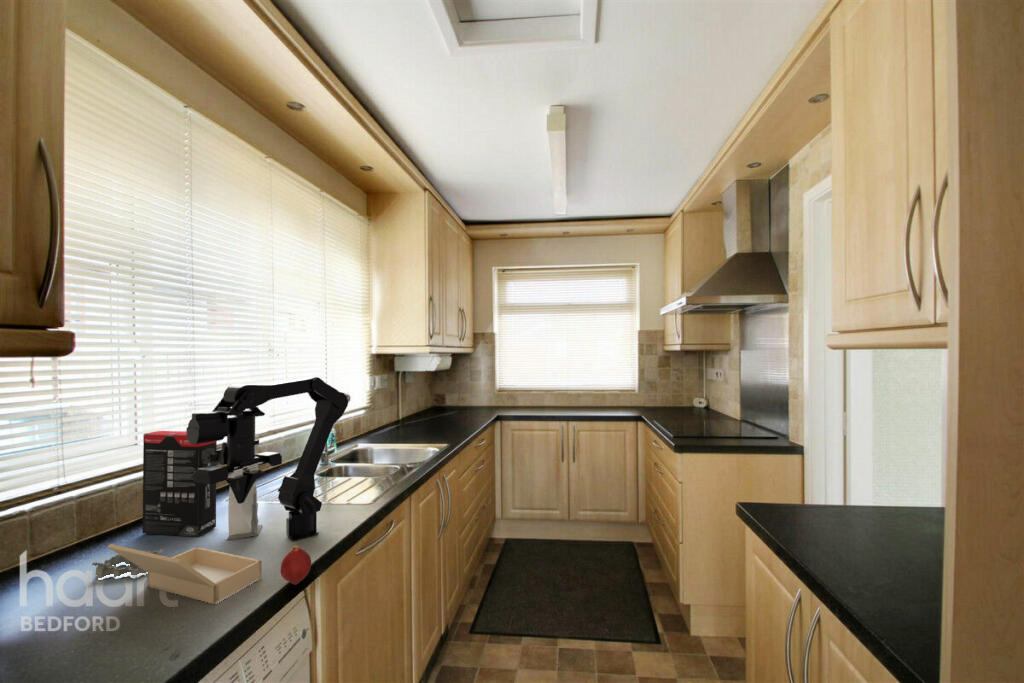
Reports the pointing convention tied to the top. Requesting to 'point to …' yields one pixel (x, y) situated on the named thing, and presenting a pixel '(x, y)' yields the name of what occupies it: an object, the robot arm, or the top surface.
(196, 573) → the lid
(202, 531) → the graphics card box
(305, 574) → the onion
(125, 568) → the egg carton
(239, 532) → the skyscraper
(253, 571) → the mailer box
